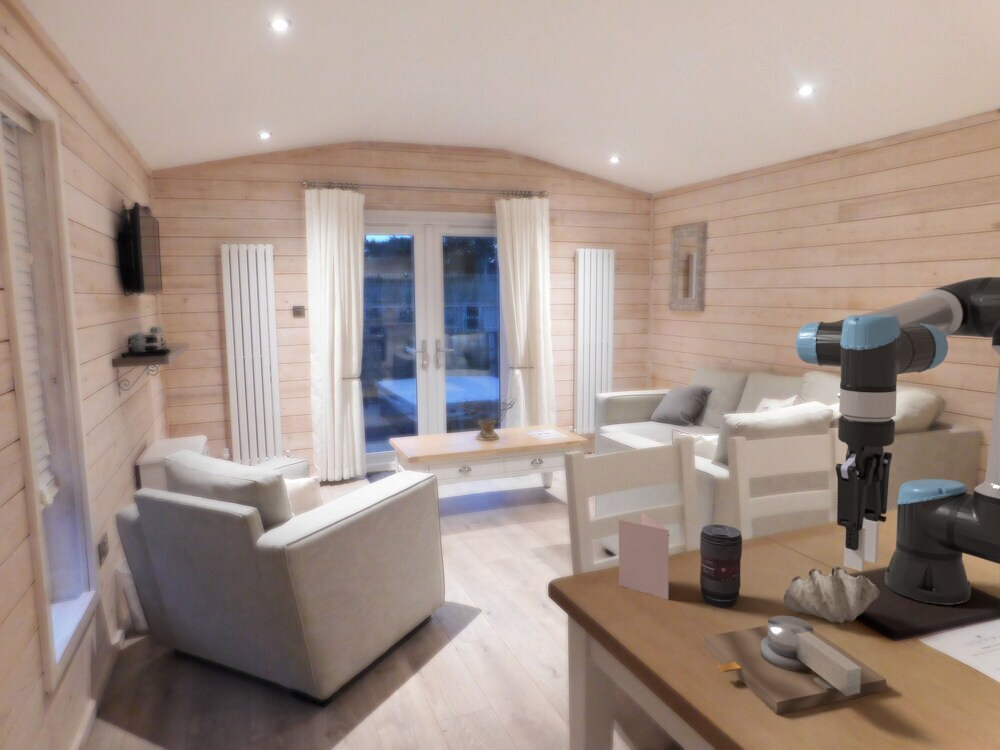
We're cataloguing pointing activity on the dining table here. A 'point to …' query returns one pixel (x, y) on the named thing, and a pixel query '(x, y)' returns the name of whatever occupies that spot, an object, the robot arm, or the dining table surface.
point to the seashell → (831, 595)
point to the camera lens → (720, 564)
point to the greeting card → (644, 556)
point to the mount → (782, 671)
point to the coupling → (813, 652)
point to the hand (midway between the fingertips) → (860, 563)
